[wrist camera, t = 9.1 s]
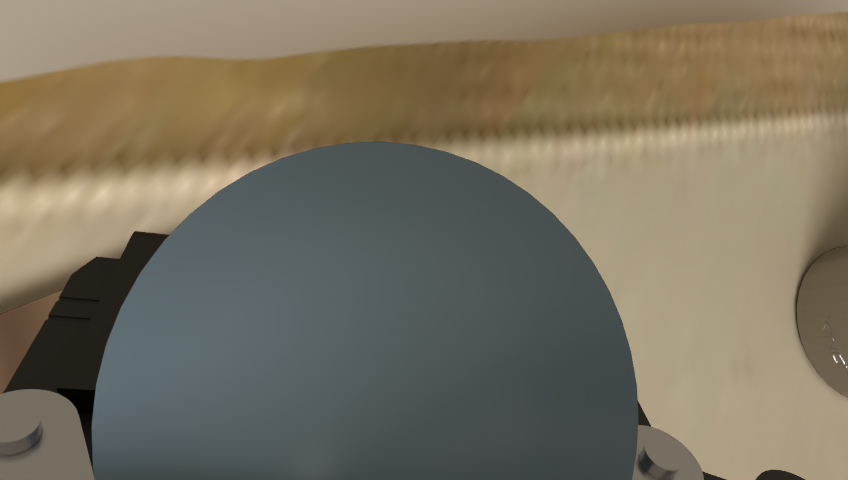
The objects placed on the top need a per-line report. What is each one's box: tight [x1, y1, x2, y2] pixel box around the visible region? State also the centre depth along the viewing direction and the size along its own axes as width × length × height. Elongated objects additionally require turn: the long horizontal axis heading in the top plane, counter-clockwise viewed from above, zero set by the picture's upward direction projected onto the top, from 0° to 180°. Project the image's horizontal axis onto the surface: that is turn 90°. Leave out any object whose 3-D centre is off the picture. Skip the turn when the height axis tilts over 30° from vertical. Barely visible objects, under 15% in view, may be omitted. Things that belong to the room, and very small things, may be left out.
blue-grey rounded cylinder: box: [92, 142, 639, 480], centre depth 11 cm, size 6×6×9 cm
